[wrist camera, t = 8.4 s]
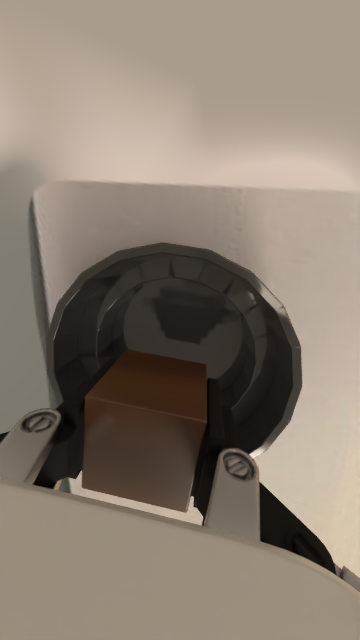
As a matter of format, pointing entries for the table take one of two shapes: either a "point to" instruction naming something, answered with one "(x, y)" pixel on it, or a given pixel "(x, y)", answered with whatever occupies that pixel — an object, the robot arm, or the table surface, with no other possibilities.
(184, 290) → the shallow round bowl
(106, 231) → the table surface
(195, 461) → the block
